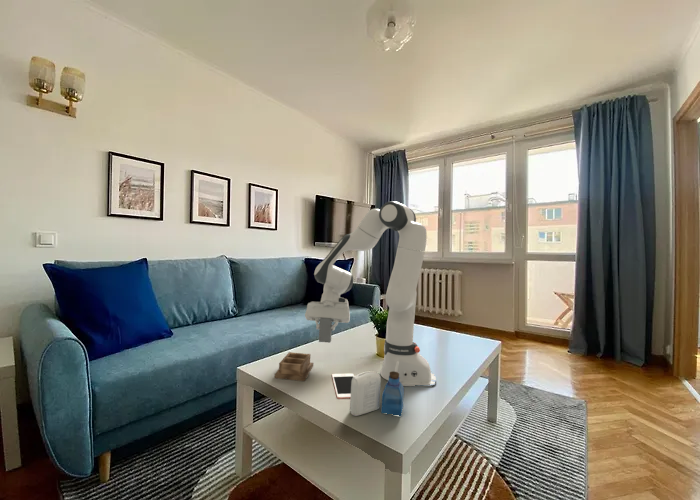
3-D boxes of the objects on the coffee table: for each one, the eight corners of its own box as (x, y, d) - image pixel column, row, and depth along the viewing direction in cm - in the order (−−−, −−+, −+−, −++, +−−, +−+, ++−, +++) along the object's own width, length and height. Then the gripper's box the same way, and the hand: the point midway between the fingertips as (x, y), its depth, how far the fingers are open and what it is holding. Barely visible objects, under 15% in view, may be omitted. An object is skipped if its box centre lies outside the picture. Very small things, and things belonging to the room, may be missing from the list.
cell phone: (353, 375, 118) (353, 373, 118) (362, 398, 101) (362, 396, 101) (331, 376, 117) (331, 373, 117) (337, 399, 99) (337, 397, 99)
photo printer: (373, 402, 98) (374, 366, 98) (381, 409, 94) (383, 371, 94) (347, 411, 92) (349, 372, 92) (355, 418, 88) (357, 378, 88)
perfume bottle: (384, 403, 98) (386, 368, 98) (403, 407, 96) (404, 371, 96) (381, 413, 92) (383, 375, 92) (400, 417, 90) (402, 379, 90)
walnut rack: (313, 366, 125) (313, 353, 124) (304, 381, 111) (305, 366, 111) (286, 363, 126) (287, 351, 126) (274, 378, 112) (275, 364, 112)
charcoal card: (331, 340, 127) (332, 318, 127) (330, 342, 124) (331, 319, 124) (320, 339, 127) (320, 317, 127) (318, 341, 125) (319, 318, 125)
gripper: (307, 297, 134) (300, 323, 124) (351, 299, 131) (347, 327, 122) (309, 305, 138) (303, 331, 129) (351, 307, 136) (348, 334, 126)
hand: (325, 329), depth 125 cm, fingers closed on charcoal card, 5 cm apart
